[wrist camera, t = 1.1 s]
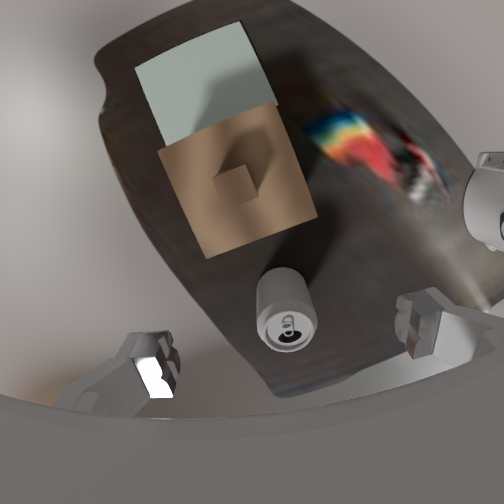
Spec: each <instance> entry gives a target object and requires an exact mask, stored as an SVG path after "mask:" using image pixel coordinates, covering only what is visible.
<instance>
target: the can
mask: <svg viewBox="0 0 504 504" xmlns="http://www.w3.org/2000/svg"><path fill="white" fill-rule="evenodd" d="M316 327H317V316H316V313H315V310H314V307H313V304H312V301H311V298H310V295H309V292H308V289H307V286H306V283H305V281H304V278H303V277H302V276H301V275H300V274H299V273H298V272H297V271H295V270H293V269H291V268H285V267H281V268H275V269H272V270H270V271H268V272H267V273H265V274H264V275H263V276H262V277H261V279H260V281H259V282H258V286H257V330H258V334H259V335H260V337H261V339H262V340H263V341H264V342H265V343H266V344H267V345H268V346H269V347H270V348H272V349H274V350H277V351H280V352H292V351H296V350H299V349H301V348H303V347H304V346H306V345H307V344H308V343H309V342H310V340H311V339H312V337H313V334H314V333H315V330H316Z"/></svg>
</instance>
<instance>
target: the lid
mask: <svg viewBox="0 0 504 504" xmlns="http://www.w3.org/2000/svg"><path fill="white" fill-rule="evenodd" d="M157 152H158V154H159V156H160V159H161V161H162V163H163V165H164V168H165V170H166V172H167V175H168V177H169V179H170V181H171V184H172V186H173V188H174V190H175V193H176V195H177V197H178V199H179V202H180V204H181V206H182V208H183V210H184V212H185V215H186V217H187V219H188V221H189V223H190V225H191V228H192V230H193V232H194V234H195V236H196V238H197V240H198V242H199V245H200V247H201V249H202V251H203V253H204V255H205V257H206V259H208V258H210V257H213V256H216V255H218V254H221V253H223V252H226V251H229V250H231V249H234V248H237V247H239V246H242V245H245V244H247V243H250V242H253V241H255V240H258V239H260V238H263V237H266V236H268V235H271V234H274V233H276V232H279V231H282V230H284V229H287V228H290V227H292V226H295V225H298V224H301V223H303V222H306V221H309V220H311V219H314V218H317V217H318V216H317V213H316V210H315V207H314V204H313V201H312V198H311V195H310V193H309V190H308V187H307V184H306V182H305V179H304V176H303V173H302V171H301V168H300V165H299V163H298V160H297V158H296V155H295V152H294V150H293V147H292V145H291V142H290V140H289V137H288V135H287V132H286V130H285V127H284V125H283V122H282V120H281V118H280V115H279V113H278V110H277V108H276V106H275V103H274V101H273V102H270V103H267V104H265V105H262V106H259V107H256V108H254V109H251V110H248V111H246V112H243V113H241V114H238V115H236V116H233V117H231V118H228V119H226V120H223V121H221V122H219V123H216V124H214V125H212V126H209V127H207V128H205V129H203V130H200V131H198V132H196V133H194V134H191V135H189V136H187V137H185V138H183V139H181V140H179V141H177V142H175V143H173V144H170V145H168V146H166V147H164V148H162V149H160V150H159V151H157Z"/></svg>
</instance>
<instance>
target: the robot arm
mask: <svg viewBox="0 0 504 504" xmlns="http://www.w3.org/2000/svg"><path fill="white" fill-rule="evenodd" d="M488 158H489V160H488ZM464 218H465V223H466V226H467V228H468V231H469V232H470V234H471V235H472V236H473V237H474V238H475V239H477V240H479V241H481V242H483V243H485V245H486V246H487V248H488V249H489V250H491V251H495V250H497V249H498V250H500V251H503V252H504V152H481V153H480V154H479V157H478V161H477V166H476V169H475V172H474V173H473V175H472V177H471V179H470V181H469V183H468V185H467V189H466V192H465V197H464ZM396 307H397V308H398V310H399V313H398V314H397V315H396V317H395V330H396V334H397V337H398V338H399V340H400V341H401V342H404V343H406V347H405V349H406V350H407V352H408V353H409V355H410V356H411V358H412V359H416V358H420V357H424V356H427V355H430V354H433V355H434V356H436V357H438V358H440V359H441V360H443V361H445V362H446V363H448V364H450V365H452V366H454V368H452V369H449V370H447V371H444V372H441V373H439V374H436V375H434V376H430V377H428V378H425V379H422V380H419V381H416V382H413V383H410V384H406V385H403V386H400V387H397V388H393V389H390V390H386V391H383V392H379V393H376V394H372V395H368V396H364V397H360V398H356V399H351V400H347V401H342V402H338V403H333V404H328V405H323V406H318V407H312V408H306V409H300V410H294V411H288V412H281V413H272V414H264V415H253V416H242V417H228V418H209V419H208V418H207V419H157V418H156V419H155V418H136V417H133V416H134V415H135V414H136V413H137V412H138V411H139V410H140V409H141V408H142V407H143V406H144V405H145V404H146V403H147V402H148V401H149V400H150V399H151V397H172V396H173V394H174V390H175V386H176V381H175V378H176V377H177V376H178V375H179V372H180V358H179V354H178V351H177V350H176V349H175V348H174V347H172V343H173V338H172V335H171V333H170V332H169V331H151V332H132V333H129V334H128V336H127V338H126V340H125V341H124V343H123V345H122V346H121V348H120V350H119V352H118V353H117V355H116V357H115V358H114V359H112V358H111V359H109V360H108V361H106V362H105V363H103V364H102V365H100V366H99V367H97V368H95V369H94V370H92V371H91V372H89V373H88V374H86V375H85V376H83V377H81V378H80V379H78V380H77V381H75V382H73V383H72V384H70V385H69V386H67V387H66V388H64V390H63V391H62V393H61V394H60V396H59V398H58V399H57V401H56V403H55V404H54V406H53V407H50V406H45V405H40V404H36V403H32V402H27V401H23V400H19V399H16V398H12V397H8V396H4V395H1V394H0V504H504V318H501V317H498V316H494V315H490V314H487V313H484V312H480V311H477V310H473V309H470V308H466V307H463V306H455V305H454V304H453V303H452V302H451V301H450V300H449V299H448V298H447V297H445V296H444V295H443V294H442V293H441V292H440V291H439V290H437V289H436V288H434V287H431V288H427V289H424V290H421V291H417V292H413V293H410V294H406V295H402V296H398V299H397V305H396Z"/></svg>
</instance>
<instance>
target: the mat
mask: <svg viewBox="0 0 504 504" xmlns="http://www.w3.org/2000/svg"><path fill="white" fill-rule="evenodd" d="M135 70H136V72H137V75H138V78H139V80H140V83H141V85H142V88H143V90H144V93H145V95H146V97H147V100H148V102H149V105H150V107H151V110H152V112H153V115H154V117H155V119H156V122H157V124H158V127H159V129H160V131H161V134H162V136H163V138H164V141H165V143H166V146H168V145H170V144H173V143H175V142H177V141H179V140H181V139H183V138H185V137H187V136H189V135H191V134H194V133H196V132H198V131H200V130H203V129H205V128H207V127H209V126H212V125H214V124H216V123H219V122H221V121H223V120H226V119H228V118H231V117H233V116H236V115H238V114H241V113H243V112H246V111H248V110H251V109H254V108H256V107H259V106H262V105H265V104H267V103H270V102H273V101H274V103H275V106H278V103H277V100H276V98H275V96H274V93H273V91H272V89H271V86H270V84H269V82H268V80H267V78H266V75H265V73H264V71H263V69H262V67H261V65H260V62H259V60H258V58H257V56H256V54H255V52H254V50H253V48H252V46H251V44H250V42H249V40H248V37H247V35H246V33H245V31H244V30H243V28H242V26H241V24H240V22H236V23H233V24H230V25H227V26H224V27H222V28H219V29H216V30H214V31H211V32H209V33H206V34H204V35H201V36H199V37H197V38H194V39H192V40H190V41H187V42H185V43H183V44H181V45H179V46H176V47H174V48H172V49H170V50H168V51H166V52H164V53H162V54H160V55H158V56H156V57H154V58H152V59H150V60H149V61H147V62H145V63H143V64H141V65H139V66H138V67H136V68H135Z"/></svg>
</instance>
